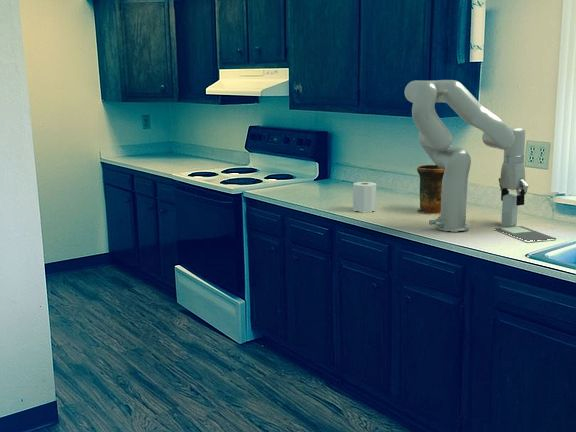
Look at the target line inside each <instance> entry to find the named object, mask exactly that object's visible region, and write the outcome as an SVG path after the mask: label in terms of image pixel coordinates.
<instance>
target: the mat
mask: <svg viewBox="0 0 576 432" xmlns="http://www.w3.org/2000/svg"><path fill="white" fill-rule="evenodd" d="M494 229H496V230H498V231H501V232H504V233H507V234H510V235H512V236H515V237H518V238H521V239H523V240H527V241H530V240H533V241H534V240H535V241H537V240H547V239H556V240H557V238H556V237H554V236H552V235H551V236H550V235H547V234H545V233H542V232H539V231H537V230H533V229H532V228H529V227H525V226H523V225H517V226H516V225H514V226H512V227H508V226H503V227H495V228H494ZM496 230H495V231H496ZM498 231H497V232H498ZM501 232H500V233H501ZM504 233H503V234H504Z"/></svg>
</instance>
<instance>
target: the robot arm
mask: <svg viewBox="0 0 576 432" xmlns="http://www.w3.org/2000/svg"><path fill="white" fill-rule="evenodd" d="M404 97H405V98H406V100H407V101H409V102H410V103H412V107H411V117H412V120H413V123H414V125H415V126H416V127H417V128H418V130H419V132H418V135H417V137H418V142H419V145H420V146H421V148H422V149H423V150H424V151H425V153H426V155H427V156H428V157H429V159H431V161H432V162H433V163H434V165H437V166H438V167H440V168H442V169H444V170H445V172H444V175H443V179H442V192H441V214H440V215H439V216H437V218H436V219H429V220H428V225H429V226H432V225H435V228H436V230H439V229H440V230H439V231H442V230H443V232H447V231H451V232H450V233H459V232H458V231H464V232H467V231H469V230H470V225H469V224H466V221H467V220H466V219H467V218H466V217H467V201H468V199H467V198H468V182H469V180H468V179H469V174H470V169H471V165H472V159H471V155H470V154H469V152H468V151H467V150H466V149H464V148H461V147H458V146H453V140H454V138H453V135H452V133H451V131H450V130H449V129H448V127H447V126H446V124H445V123H444V122H443V120H442V119H441V118H440V117H439V115H438V113H437V111H436V109H435V104H436V103H445V104H447V105H448V106H449V107H450V108H451V110H453V111H454V112H455V113H456V114H457V115H458V116H459V118H460V119H462V121H464V122H465V123H467V124H468V125H469V126H472V127H474V128H477V129H478V130H480V131H481V132H482V137H481V140H482V143H483V144H484V145H485V146H486V147H489V148H492V149H498V150H503V162H502V165H501V169H500V176H499V178H498V182H499V187H500V200H501V201H502V202H503V196H505V195H507V194H510V190H511V191H515V192H516V195H517V197H516V205H517V206H518V207H519V206H524V205H525V195H526V194H527V192H528V189H529V184H528V183H527V182H526V169H525V145H526V130H525V128H524V127H519V126H517V127H516V126H514V127H513V126H512V127H509V126H508V125H507V124H506V123H505V122H504V121H503V120H502V119H501V118H500V117H498V116H497V115H496V114H494V113H493V112H492V111H490V110H489V109H488V108H486V107H485V106H483V105H482V104H481V102H479V101H478V100H477V98H476V97H475V96H474V95H473V94H472V93H471V92H470V90H468V89H467V87H465V86H464V85H463V84H462V83H461V82H460V81H458V80H454V79H440V80H439V79H437V80H416V79H415V80H411V81H410V82H408V83H407V85H406V86H405V88H404Z"/></svg>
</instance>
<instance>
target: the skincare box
mask: <svg viewBox="0 0 576 432" xmlns="http://www.w3.org/2000/svg"><path fill="white" fill-rule="evenodd" d="M517 195H518V194H513V193H509V194H507V195H505V196H503V201H502V206H501V221H500V222H501V223H500V225H505V226H504V227H508V226H512V227H514V226H516V225H517V221H518V211H519V210H518V207H519V206H517V205H516V197H517ZM515 224H516V225H515ZM513 225H514V226H513Z"/></svg>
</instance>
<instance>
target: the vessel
mask: <svg viewBox="0 0 576 432" xmlns="http://www.w3.org/2000/svg"><path fill="white" fill-rule="evenodd" d="M416 170H417V174H418V176H419V209H418V210H419V211H417V212H418V213H419V214H424V213H427V214H426V215H435V214H437V215H441V192H442V179H443V175H444V172H445V170H444V169H442V168H440V167H438V166H437V165H436V164H423V165H419V166H418V167H417V168H416Z"/></svg>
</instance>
